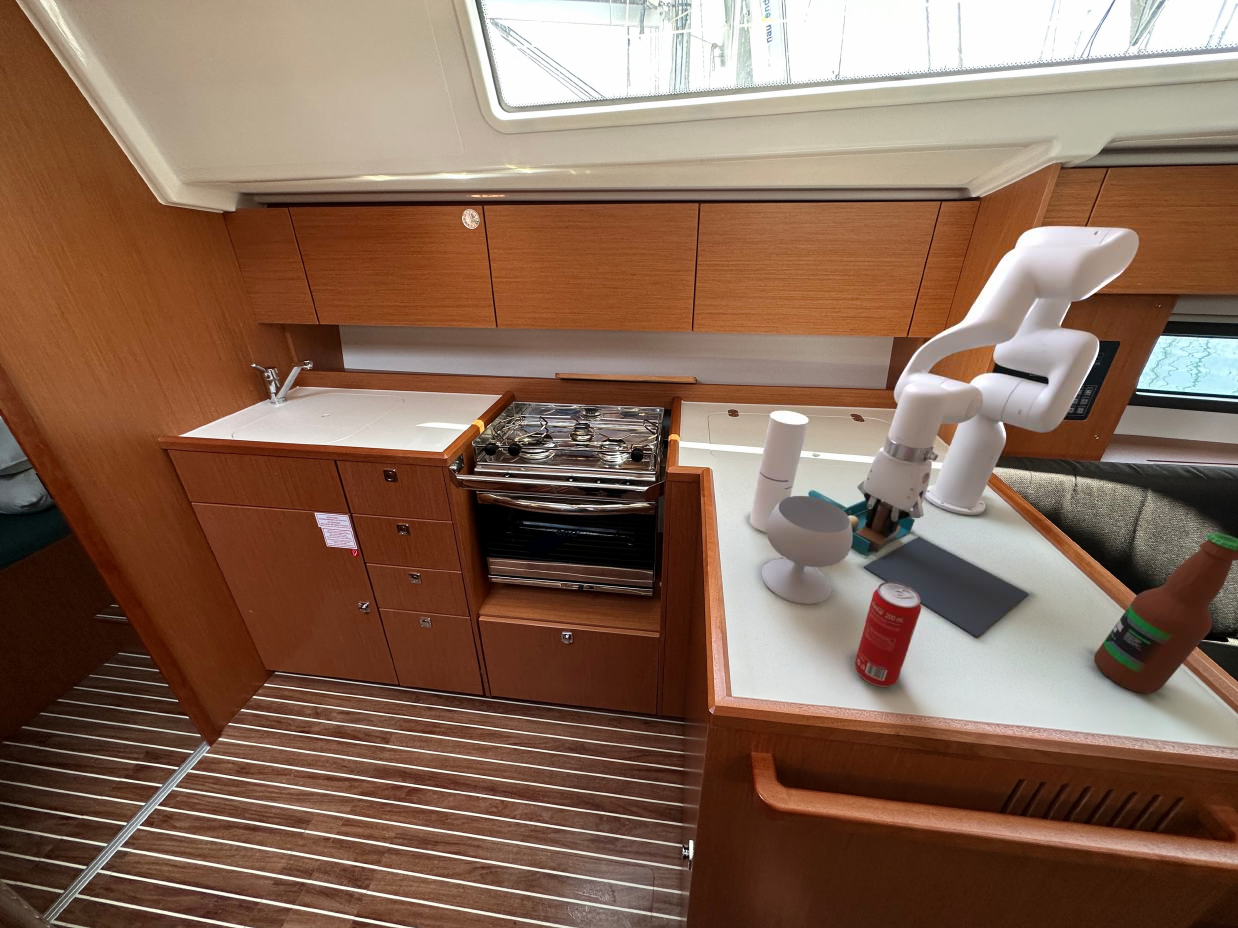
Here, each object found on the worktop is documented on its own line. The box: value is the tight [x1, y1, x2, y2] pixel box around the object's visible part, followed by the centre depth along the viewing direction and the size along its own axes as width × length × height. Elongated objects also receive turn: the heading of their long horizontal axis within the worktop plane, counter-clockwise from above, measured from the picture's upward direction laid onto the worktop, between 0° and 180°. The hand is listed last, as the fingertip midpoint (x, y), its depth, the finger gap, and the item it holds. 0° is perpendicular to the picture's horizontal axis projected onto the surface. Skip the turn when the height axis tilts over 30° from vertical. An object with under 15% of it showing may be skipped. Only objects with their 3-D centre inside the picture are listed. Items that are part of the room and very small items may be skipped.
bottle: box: [1093, 532, 1238, 694], centre depth 65 cm, size 7×7×25 cm
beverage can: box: [854, 581, 922, 688], centre depth 66 cm, size 6×6×15 cm
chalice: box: [761, 495, 853, 604], centre depth 83 cm, size 14×14×15 cm
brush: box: [855, 501, 901, 554], centre depth 96 cm, size 10×5×8 cm, turn 129°
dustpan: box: [807, 489, 916, 557], centre depth 105 cm, size 20×17×3 cm
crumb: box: [848, 516, 859, 529], centre depth 102 cm, size 3×3×3 cm
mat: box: [862, 536, 1030, 639], centre depth 88 cm, size 20×20×1 cm
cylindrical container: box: [749, 410, 809, 533], centre depth 98 cm, size 7×7×25 cm
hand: (879, 528), depth 97 cm, fingers closed on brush, 3 cm apart
